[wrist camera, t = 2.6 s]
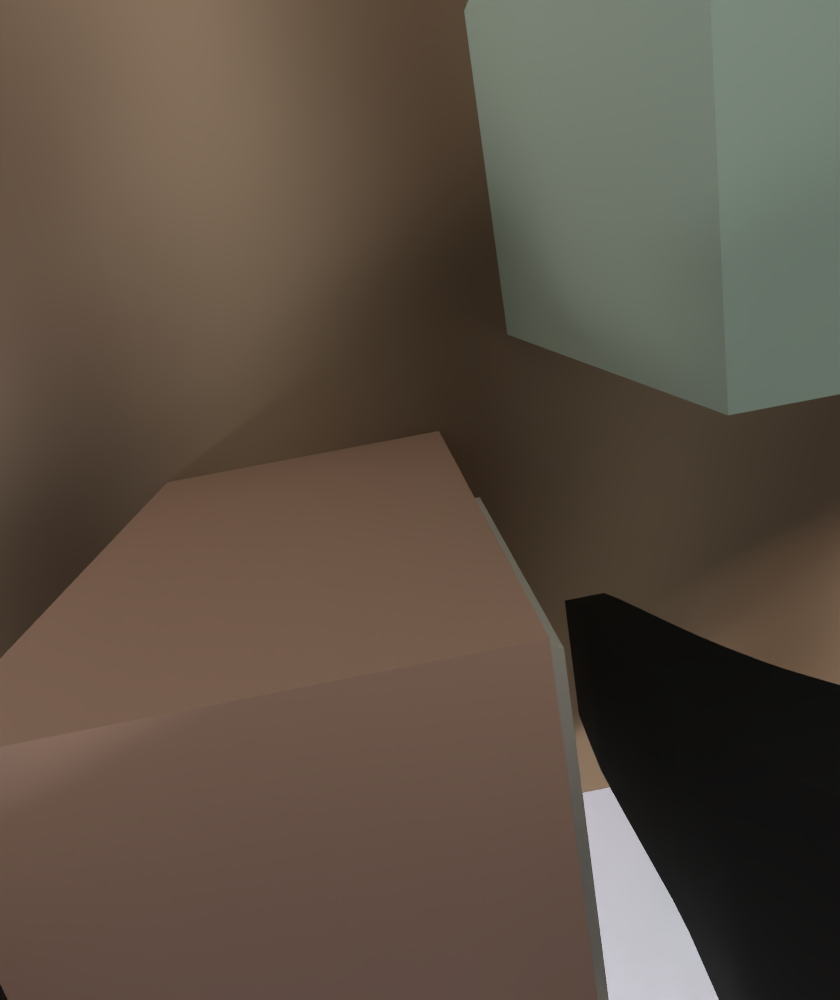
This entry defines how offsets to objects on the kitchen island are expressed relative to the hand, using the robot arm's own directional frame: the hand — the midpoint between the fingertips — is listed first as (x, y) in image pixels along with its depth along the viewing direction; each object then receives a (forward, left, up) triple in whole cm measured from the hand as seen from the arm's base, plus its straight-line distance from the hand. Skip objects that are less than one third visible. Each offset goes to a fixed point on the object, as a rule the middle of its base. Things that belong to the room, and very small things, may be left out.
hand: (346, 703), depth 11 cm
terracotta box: (0, 0, -2) cm, 2 cm away
